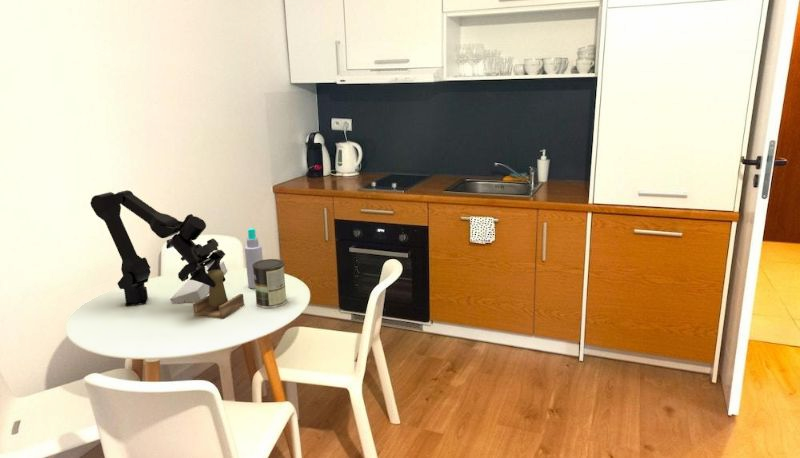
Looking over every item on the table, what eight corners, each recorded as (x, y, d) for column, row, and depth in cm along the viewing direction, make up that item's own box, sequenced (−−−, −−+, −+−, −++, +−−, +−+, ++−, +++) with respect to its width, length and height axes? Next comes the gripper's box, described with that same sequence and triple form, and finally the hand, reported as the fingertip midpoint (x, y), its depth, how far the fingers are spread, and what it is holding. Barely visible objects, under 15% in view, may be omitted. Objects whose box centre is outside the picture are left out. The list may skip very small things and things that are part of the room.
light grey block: (175, 311, 195) (202, 303, 195) (169, 299, 194) (196, 290, 194) (204, 279, 228) (227, 272, 228) (199, 268, 227) (223, 261, 227)
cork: (205, 302, 187) (202, 270, 184) (222, 297, 191) (219, 266, 188) (213, 307, 182) (210, 274, 180) (231, 302, 186) (228, 270, 184)
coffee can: (253, 309, 187) (249, 268, 184) (259, 298, 197) (255, 259, 194) (284, 307, 188) (281, 267, 185) (288, 296, 198) (285, 258, 195)
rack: (194, 315, 183) (192, 304, 182) (216, 302, 194) (215, 291, 193) (223, 318, 180) (222, 307, 179) (244, 305, 191) (243, 294, 190)
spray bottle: (258, 282, 213) (253, 226, 208) (268, 285, 209) (263, 228, 204) (245, 287, 209) (239, 229, 203) (254, 290, 205) (249, 231, 200)
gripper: (181, 240, 173) (216, 277, 173) (217, 226, 191) (249, 260, 190) (163, 263, 178) (196, 299, 177) (200, 247, 195) (231, 280, 194)
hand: (219, 283), depth 185 cm, fingers closed on cork, 5 cm apart
